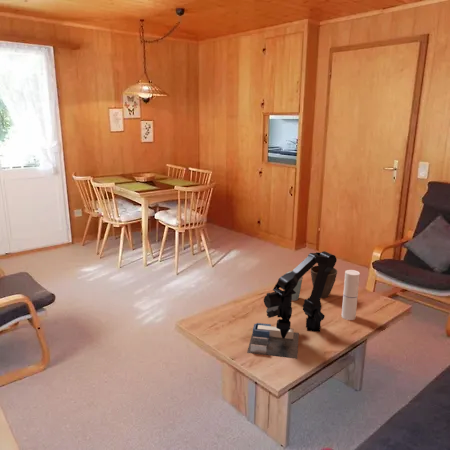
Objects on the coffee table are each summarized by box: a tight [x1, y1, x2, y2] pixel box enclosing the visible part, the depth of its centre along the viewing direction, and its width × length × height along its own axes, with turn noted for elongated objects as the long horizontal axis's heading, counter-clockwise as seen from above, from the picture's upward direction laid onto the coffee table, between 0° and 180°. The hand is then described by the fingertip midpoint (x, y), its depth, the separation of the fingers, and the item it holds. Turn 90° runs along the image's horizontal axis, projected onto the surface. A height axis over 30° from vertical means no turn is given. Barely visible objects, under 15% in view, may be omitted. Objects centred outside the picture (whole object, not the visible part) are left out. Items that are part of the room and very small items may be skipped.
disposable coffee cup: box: [286, 271, 304, 302], centre depth 235 cm, size 11×11×15 cm
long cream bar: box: [257, 325, 295, 339], centre depth 196 cm, size 17×4×4 cm, turn 79°
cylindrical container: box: [340, 269, 361, 321], centre depth 213 cm, size 7×7×25 cm
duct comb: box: [246, 322, 300, 360], centre depth 190 cm, size 22×22×4 cm
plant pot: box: [310, 265, 338, 299], centre depth 239 cm, size 15×15×16 cm
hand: (283, 333), depth 196 cm, fingers open, 9 cm apart
